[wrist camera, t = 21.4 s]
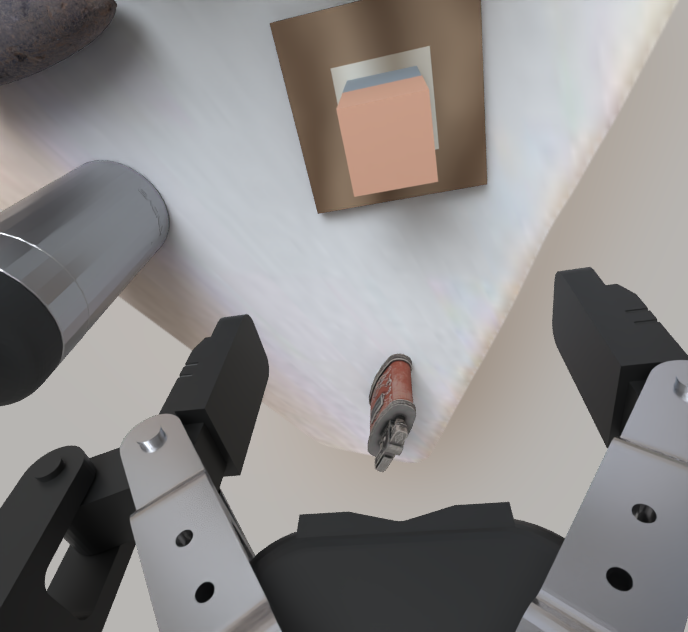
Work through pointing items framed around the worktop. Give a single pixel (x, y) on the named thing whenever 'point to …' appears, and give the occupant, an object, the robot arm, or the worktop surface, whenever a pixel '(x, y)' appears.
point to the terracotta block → (388, 136)
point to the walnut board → (379, 57)
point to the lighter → (390, 410)
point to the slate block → (381, 78)
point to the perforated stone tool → (47, 32)
